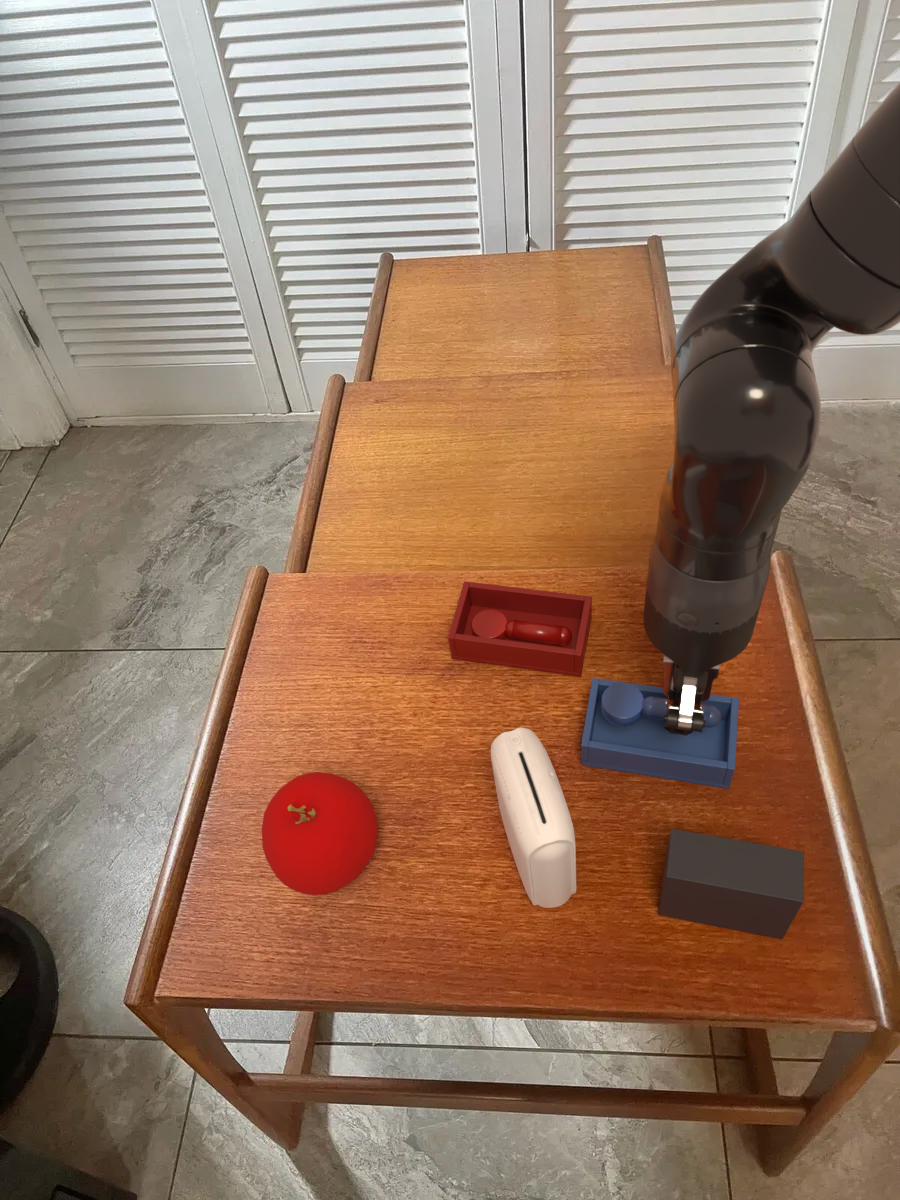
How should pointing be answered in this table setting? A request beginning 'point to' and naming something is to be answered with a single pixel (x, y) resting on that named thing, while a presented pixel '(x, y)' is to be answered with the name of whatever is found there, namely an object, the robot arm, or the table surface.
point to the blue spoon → (641, 706)
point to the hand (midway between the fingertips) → (679, 715)
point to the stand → (731, 883)
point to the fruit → (319, 833)
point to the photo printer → (535, 817)
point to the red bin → (523, 608)
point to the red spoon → (517, 629)
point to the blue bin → (661, 742)
